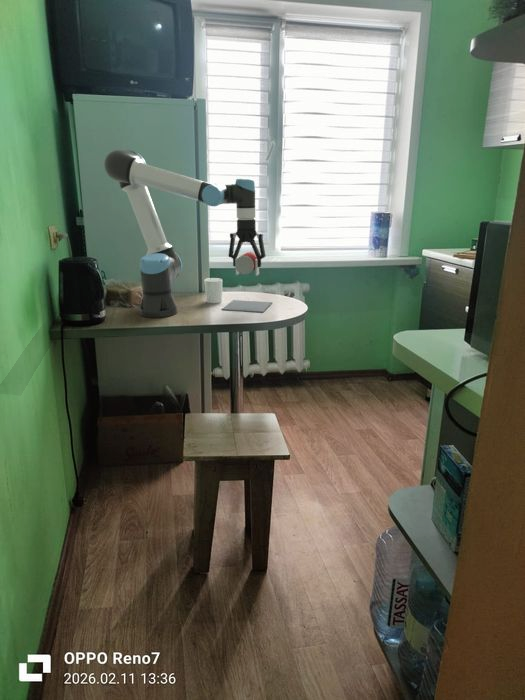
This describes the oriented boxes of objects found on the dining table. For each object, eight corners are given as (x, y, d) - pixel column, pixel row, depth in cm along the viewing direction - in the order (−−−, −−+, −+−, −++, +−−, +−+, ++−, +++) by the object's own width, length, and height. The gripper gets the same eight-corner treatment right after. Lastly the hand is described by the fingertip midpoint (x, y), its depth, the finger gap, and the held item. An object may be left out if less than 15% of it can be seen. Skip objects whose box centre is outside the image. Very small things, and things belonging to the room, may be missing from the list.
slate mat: (221, 310, 207) (221, 308, 207) (233, 301, 222) (233, 300, 222) (263, 312, 203) (263, 311, 203) (272, 303, 218) (272, 302, 217)
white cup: (211, 304, 216) (210, 282, 212) (201, 301, 222) (200, 279, 218) (226, 302, 220) (225, 279, 217) (216, 298, 226) (215, 277, 223)
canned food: (241, 251, 212) (234, 255, 202) (259, 251, 210) (252, 255, 200) (243, 269, 214) (235, 274, 204) (260, 269, 212) (254, 274, 202)
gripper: (273, 218, 201) (273, 273, 209) (224, 217, 206) (226, 272, 214) (268, 219, 194) (269, 277, 202) (218, 219, 199) (221, 275, 207)
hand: (247, 274), depth 208 cm, fingers closed on canned food, 8 cm apart
